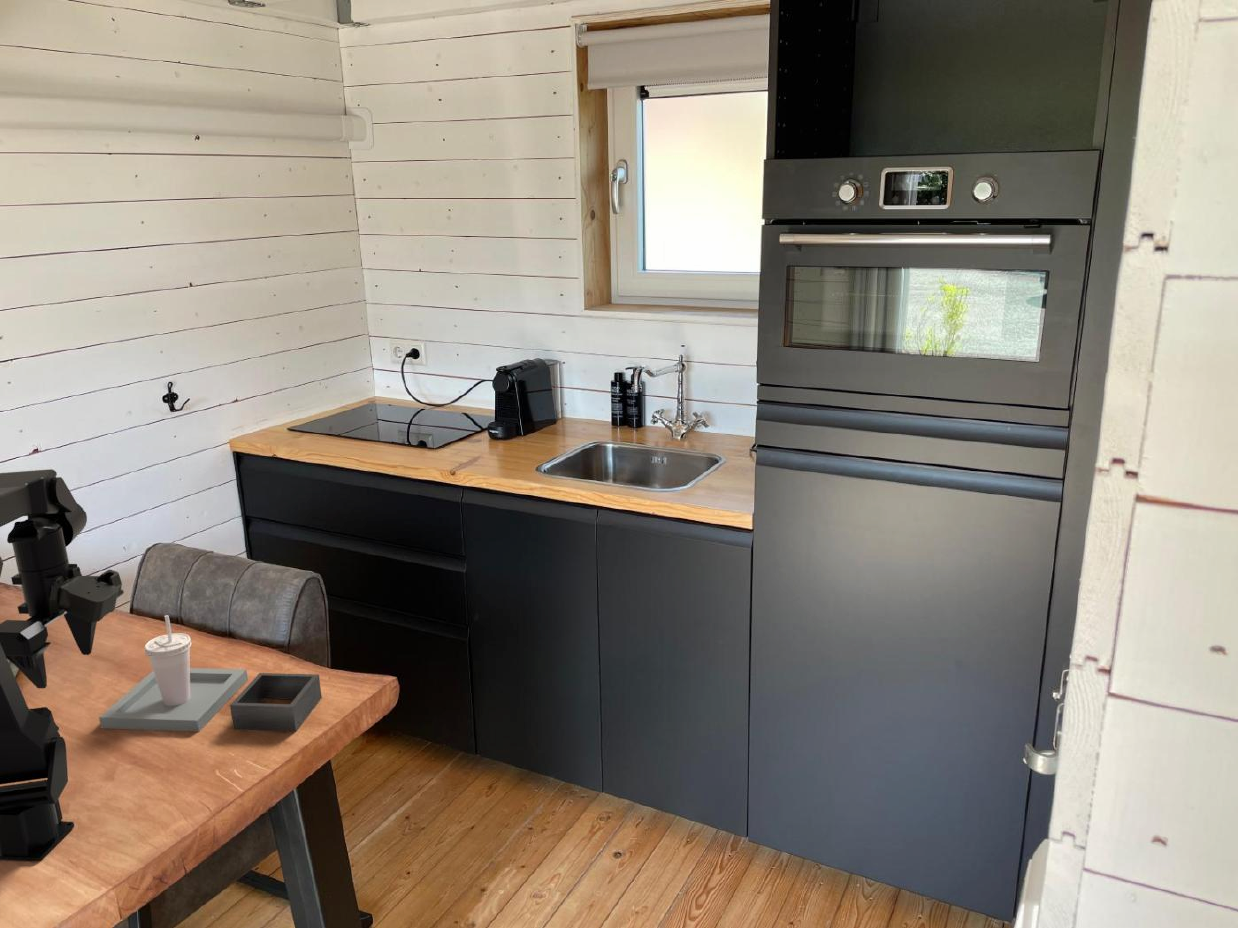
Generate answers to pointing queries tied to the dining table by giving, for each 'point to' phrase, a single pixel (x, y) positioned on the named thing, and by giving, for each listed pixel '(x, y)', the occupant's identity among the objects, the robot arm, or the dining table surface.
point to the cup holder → (276, 716)
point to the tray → (151, 713)
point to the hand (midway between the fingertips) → (65, 670)
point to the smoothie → (171, 665)
